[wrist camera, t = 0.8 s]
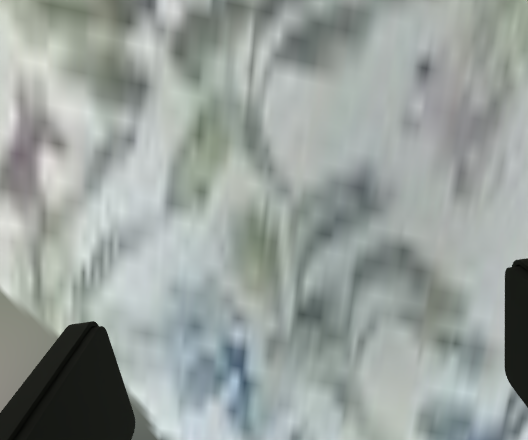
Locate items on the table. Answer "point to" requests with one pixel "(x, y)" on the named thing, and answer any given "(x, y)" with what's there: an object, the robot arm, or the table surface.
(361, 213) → the table surface
